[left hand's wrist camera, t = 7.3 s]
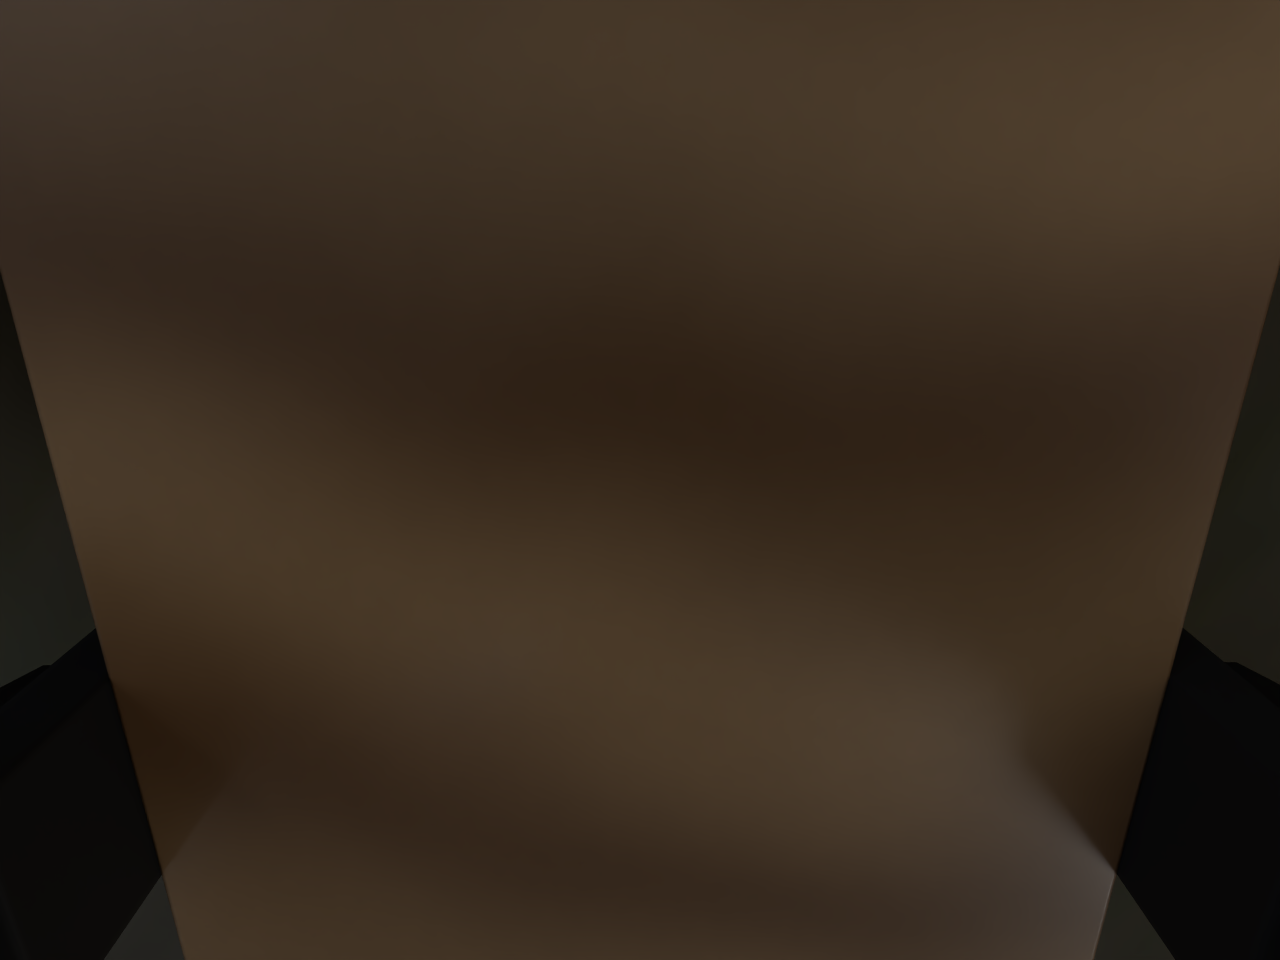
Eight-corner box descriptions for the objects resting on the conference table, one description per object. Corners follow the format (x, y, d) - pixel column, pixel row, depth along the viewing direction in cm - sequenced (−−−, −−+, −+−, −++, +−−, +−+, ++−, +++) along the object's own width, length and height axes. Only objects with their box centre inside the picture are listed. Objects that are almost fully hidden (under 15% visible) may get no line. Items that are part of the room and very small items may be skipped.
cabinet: (276, -346, 12) (-457, -1407, 4) (1002, -345, 12) (1733, -1402, 4) (396, 652, 19) (201, 1034, 10) (881, 652, 19) (1077, 1033, 10)
